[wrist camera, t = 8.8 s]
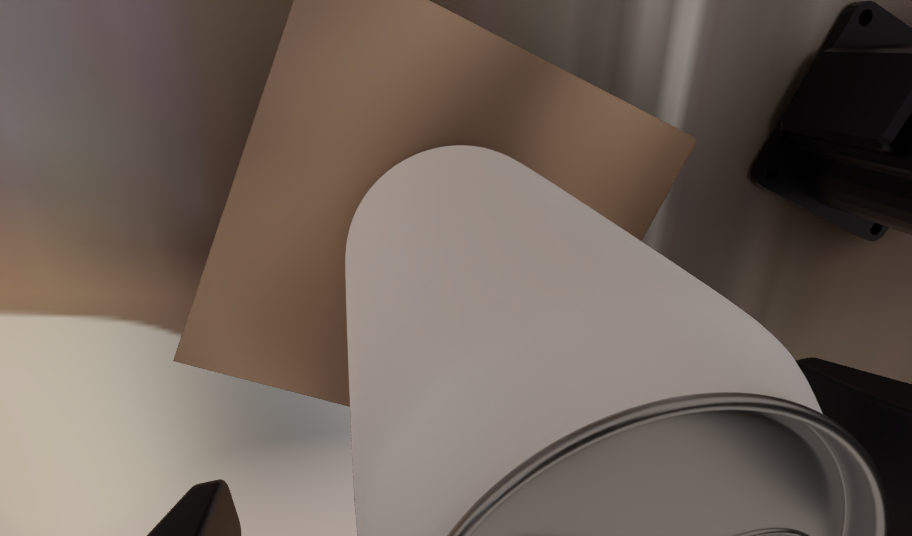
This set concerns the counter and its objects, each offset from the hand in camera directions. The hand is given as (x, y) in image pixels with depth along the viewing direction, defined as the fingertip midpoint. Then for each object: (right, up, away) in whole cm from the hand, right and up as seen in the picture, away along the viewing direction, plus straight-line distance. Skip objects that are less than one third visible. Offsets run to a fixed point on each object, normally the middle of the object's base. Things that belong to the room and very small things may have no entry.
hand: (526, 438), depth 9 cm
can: (-1, +3, +8) cm, 9 cm away
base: (-2, +4, +10) cm, 11 cm away
